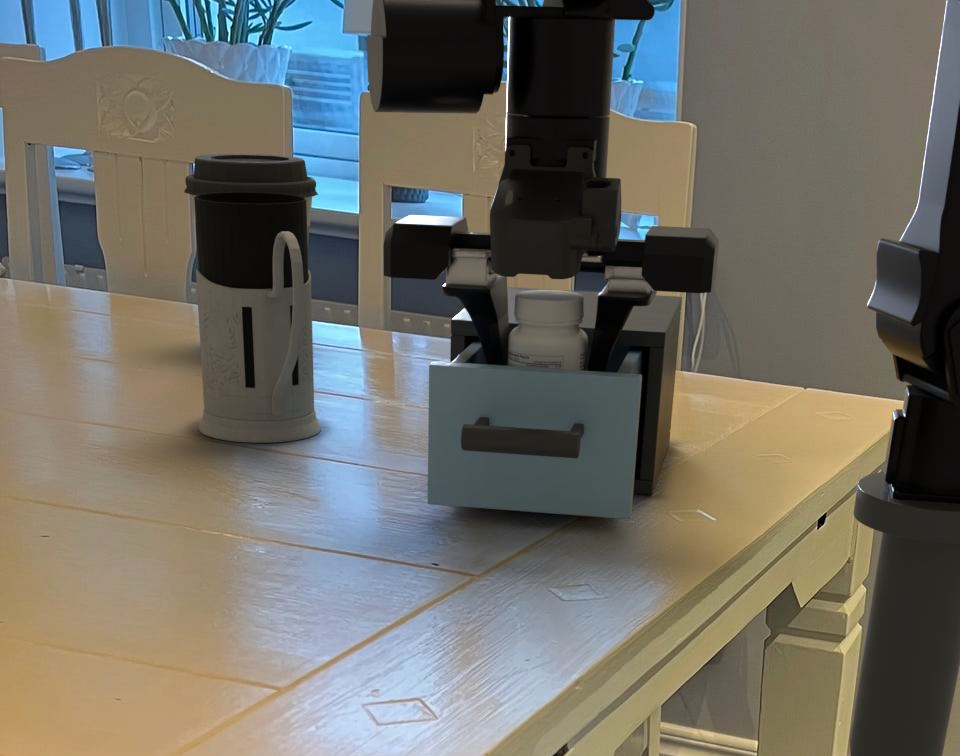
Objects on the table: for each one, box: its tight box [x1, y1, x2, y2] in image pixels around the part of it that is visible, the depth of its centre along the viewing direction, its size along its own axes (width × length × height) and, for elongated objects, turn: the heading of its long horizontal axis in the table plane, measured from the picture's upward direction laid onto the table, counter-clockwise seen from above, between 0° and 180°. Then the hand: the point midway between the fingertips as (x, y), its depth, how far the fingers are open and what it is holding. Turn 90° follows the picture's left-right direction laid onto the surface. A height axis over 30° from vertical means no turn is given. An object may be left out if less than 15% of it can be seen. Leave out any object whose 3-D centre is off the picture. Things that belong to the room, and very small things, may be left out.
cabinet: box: [449, 286, 683, 496], centre depth 106 cm, size 15×13×10 cm
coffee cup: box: [183, 153, 319, 242], centre depth 138 cm, size 11×11×15 cm
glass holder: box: [194, 192, 322, 444], centre depth 109 cm, size 9×14×15 cm, turn 24°
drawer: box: [427, 337, 646, 520], centre depth 96 cm, size 18×12×8 cm, turn 170°
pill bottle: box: [507, 289, 588, 371], centre depth 95 cm, size 5×5×8 cm
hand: (545, 409), depth 96 cm, fingers closed on pill bottle, 5 cm apart
